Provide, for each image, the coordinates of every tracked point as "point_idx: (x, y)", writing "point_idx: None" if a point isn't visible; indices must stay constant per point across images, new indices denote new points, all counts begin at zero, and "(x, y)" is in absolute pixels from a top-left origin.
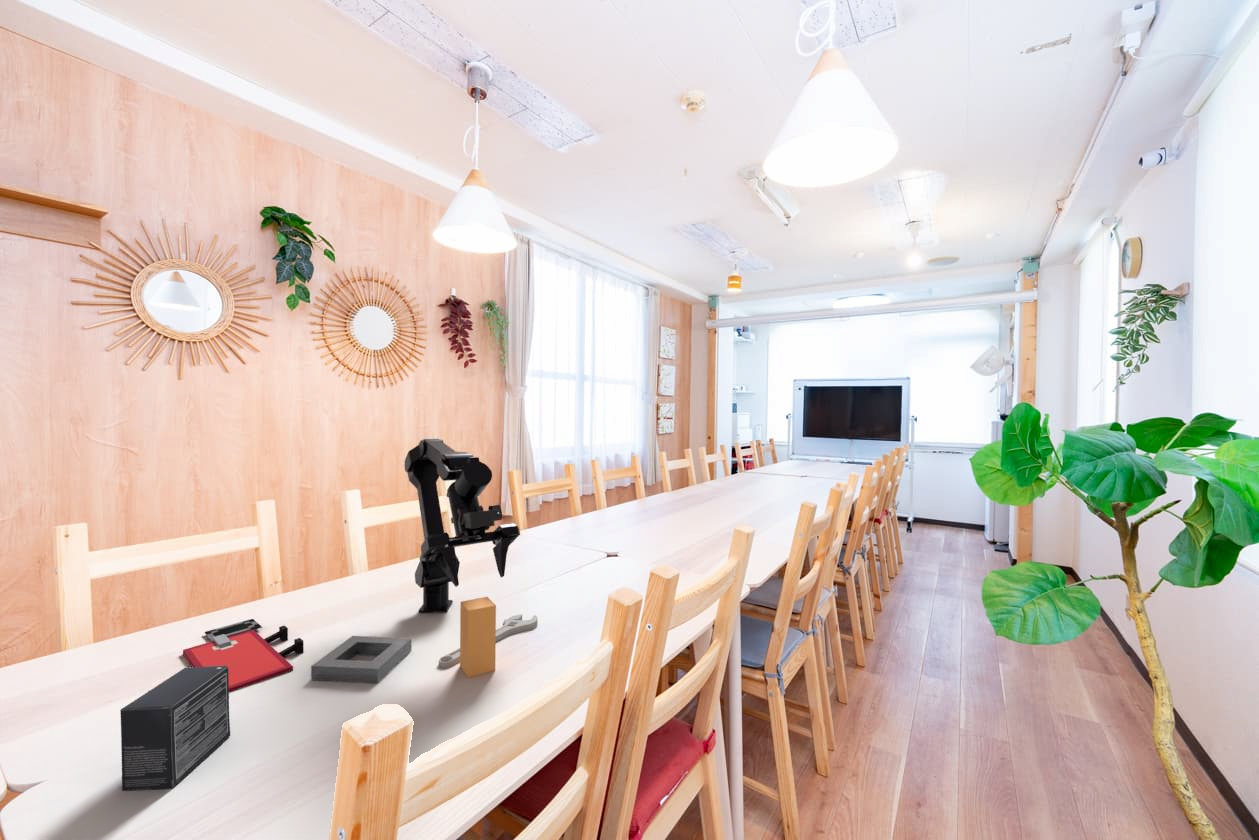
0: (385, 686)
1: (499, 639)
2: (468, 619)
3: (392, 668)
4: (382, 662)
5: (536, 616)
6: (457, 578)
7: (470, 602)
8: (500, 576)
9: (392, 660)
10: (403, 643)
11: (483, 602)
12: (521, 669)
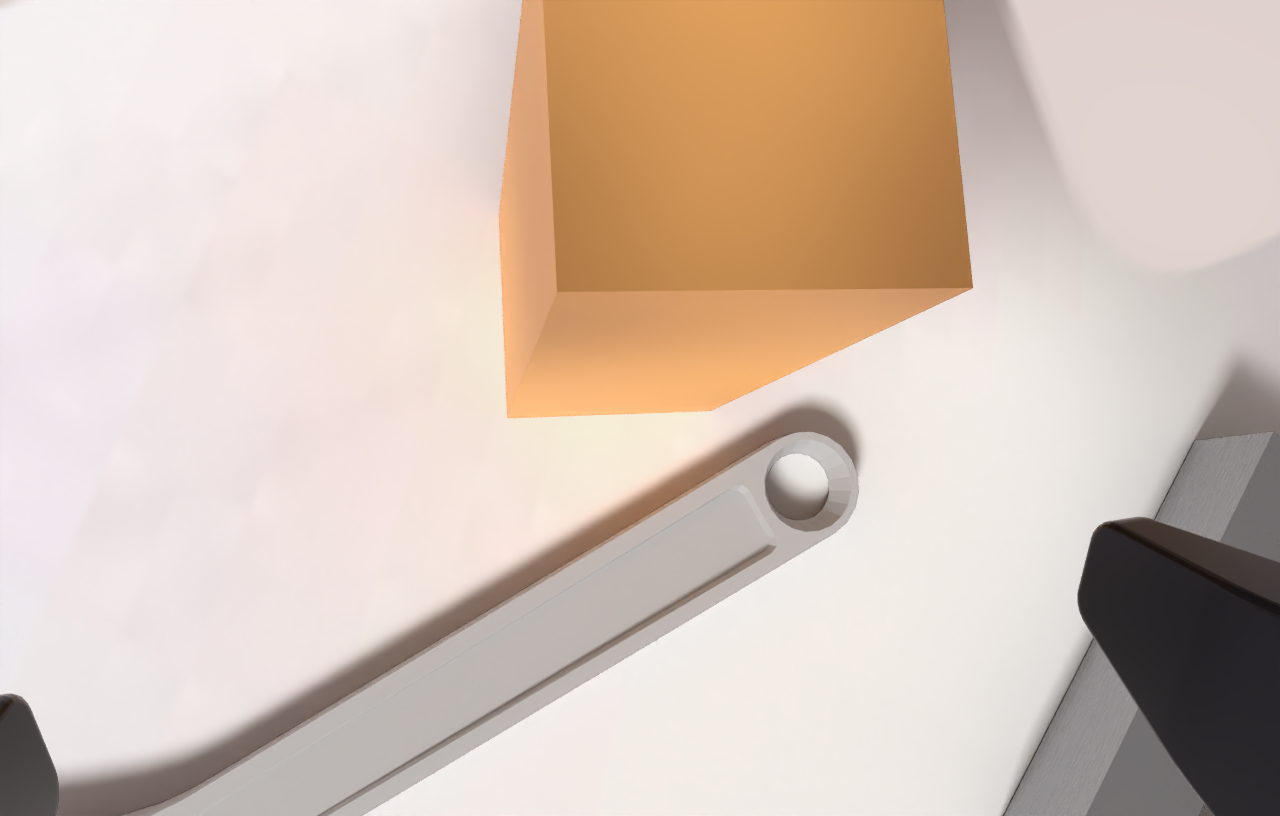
0: (1154, 379)
1: (295, 727)
2: None
3: None
4: (1249, 517)
5: None
6: (1217, 563)
7: (850, 178)
8: (53, 809)
9: None
10: (1117, 791)
11: (677, 73)
12: (319, 122)
